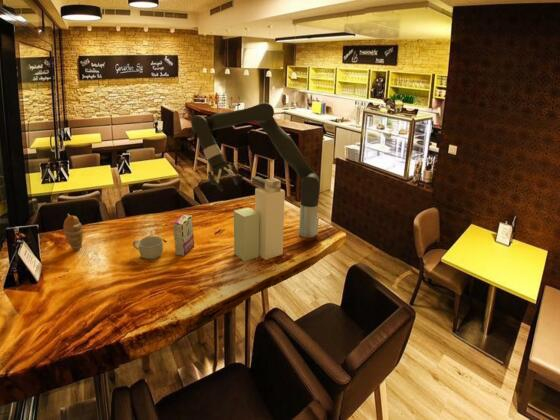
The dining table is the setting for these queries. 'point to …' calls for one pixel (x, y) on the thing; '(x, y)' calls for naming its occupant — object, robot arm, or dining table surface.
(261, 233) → the tall stand
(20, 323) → the dining table surface
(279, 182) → the handle
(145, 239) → the teacup
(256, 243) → the grey green tall block
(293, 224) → the dining table surface
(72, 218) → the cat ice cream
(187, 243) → the candy bar box
